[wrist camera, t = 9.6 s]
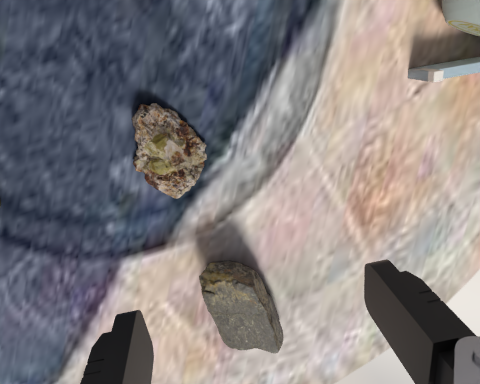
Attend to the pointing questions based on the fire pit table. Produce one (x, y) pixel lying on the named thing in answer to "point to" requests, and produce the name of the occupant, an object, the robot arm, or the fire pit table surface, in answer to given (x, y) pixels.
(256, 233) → the fire pit table surface
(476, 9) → the air freshener
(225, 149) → the fire pit table surface
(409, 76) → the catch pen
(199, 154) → the mineral rock
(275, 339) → the rock
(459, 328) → the robot arm
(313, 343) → the fire pit table surface
